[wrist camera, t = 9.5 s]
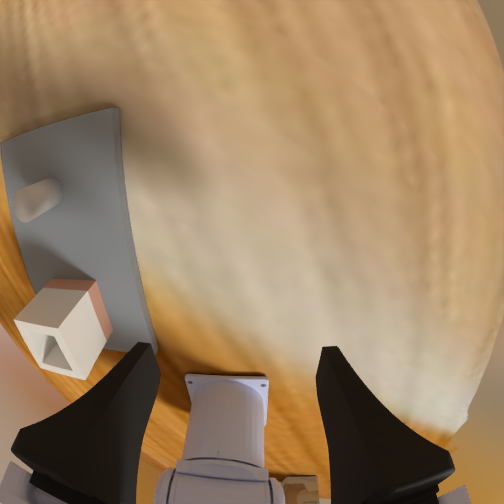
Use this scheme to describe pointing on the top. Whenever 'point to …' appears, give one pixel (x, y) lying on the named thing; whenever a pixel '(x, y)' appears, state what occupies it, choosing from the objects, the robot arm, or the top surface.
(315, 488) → the skincare box
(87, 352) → the sleeve
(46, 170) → the pin board
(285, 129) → the top surface
